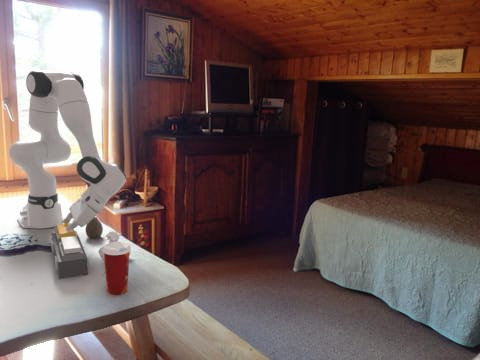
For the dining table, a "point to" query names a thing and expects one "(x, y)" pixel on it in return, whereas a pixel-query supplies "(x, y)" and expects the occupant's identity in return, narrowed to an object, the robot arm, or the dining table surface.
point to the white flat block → (70, 244)
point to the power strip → (70, 265)
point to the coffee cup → (116, 267)
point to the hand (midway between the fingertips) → (65, 226)
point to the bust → (113, 238)
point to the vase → (94, 229)
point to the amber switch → (64, 230)
